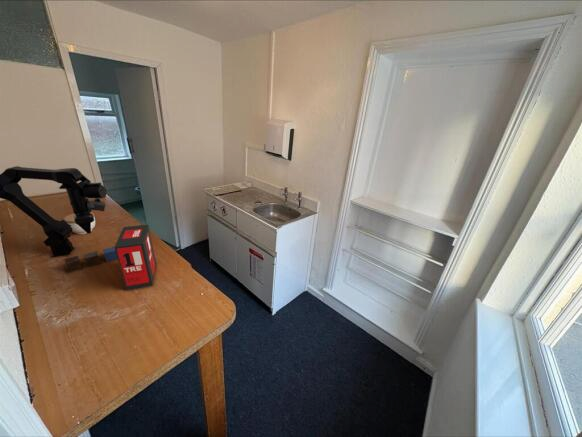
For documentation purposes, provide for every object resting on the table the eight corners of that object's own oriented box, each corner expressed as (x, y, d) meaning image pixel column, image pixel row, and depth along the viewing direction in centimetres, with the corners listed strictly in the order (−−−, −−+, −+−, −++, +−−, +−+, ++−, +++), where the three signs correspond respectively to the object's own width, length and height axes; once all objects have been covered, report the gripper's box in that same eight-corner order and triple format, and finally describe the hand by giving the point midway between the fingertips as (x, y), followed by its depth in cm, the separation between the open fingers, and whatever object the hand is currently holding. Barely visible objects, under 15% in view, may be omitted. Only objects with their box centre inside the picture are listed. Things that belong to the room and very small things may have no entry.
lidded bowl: (69, 238, 121) (62, 219, 116) (68, 229, 129) (62, 211, 125) (99, 232, 129) (94, 214, 124) (97, 224, 137) (92, 206, 132)
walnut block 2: (88, 266, 102) (85, 258, 100) (87, 262, 105) (84, 253, 103) (100, 263, 105) (97, 255, 103) (99, 258, 108) (96, 250, 106)
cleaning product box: (152, 285, 95) (143, 243, 86) (126, 290, 91) (114, 247, 83) (156, 262, 108) (148, 224, 100) (133, 266, 105) (123, 227, 97)
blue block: (106, 261, 106) (103, 253, 105) (105, 257, 109) (102, 249, 107) (117, 258, 109) (115, 250, 107) (116, 254, 112) (114, 246, 110)
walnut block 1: (68, 272, 98) (64, 263, 96) (67, 267, 101) (64, 258, 99) (81, 268, 101) (78, 260, 99) (81, 263, 104) (78, 255, 102)
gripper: (103, 201, 101) (112, 232, 107) (98, 189, 113) (106, 218, 119) (69, 206, 94) (81, 239, 100) (67, 193, 106) (78, 223, 112)
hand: (88, 229), depth 108 cm, fingers open, 9 cm apart
